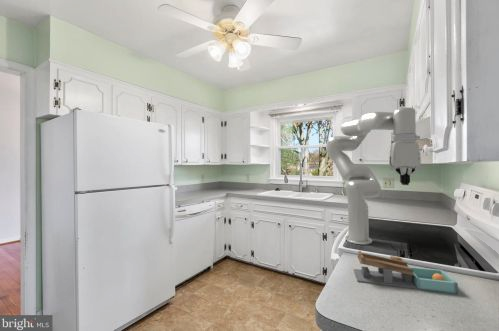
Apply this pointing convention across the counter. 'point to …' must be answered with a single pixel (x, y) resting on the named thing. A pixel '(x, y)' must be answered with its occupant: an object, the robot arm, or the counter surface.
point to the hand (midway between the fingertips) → (405, 184)
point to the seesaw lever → (385, 263)
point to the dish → (433, 281)
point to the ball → (438, 277)
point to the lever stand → (384, 277)
